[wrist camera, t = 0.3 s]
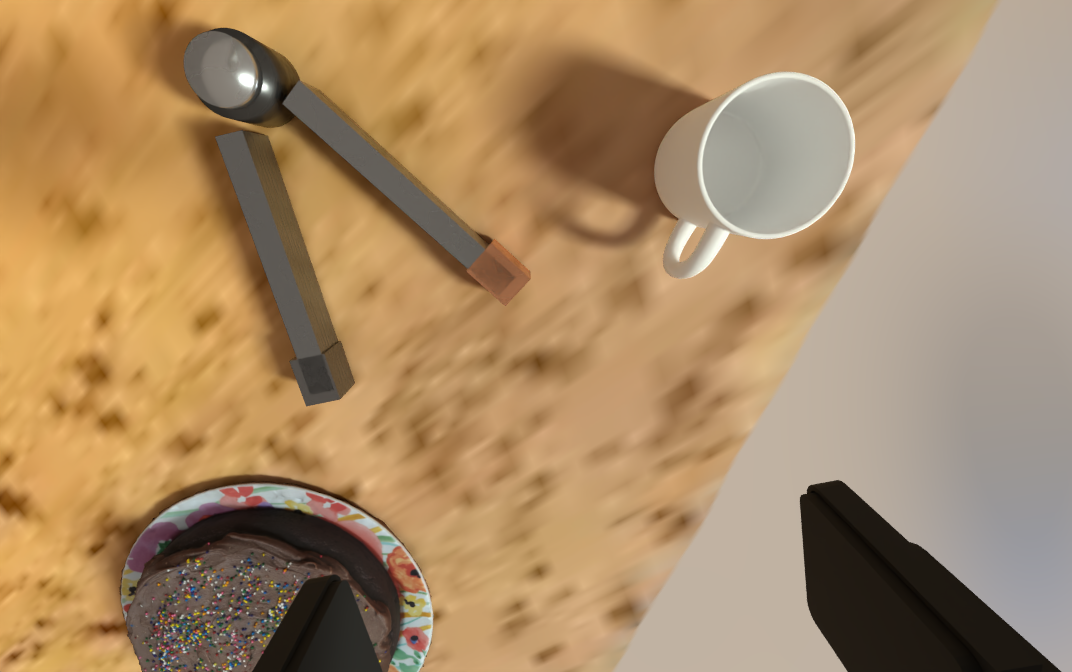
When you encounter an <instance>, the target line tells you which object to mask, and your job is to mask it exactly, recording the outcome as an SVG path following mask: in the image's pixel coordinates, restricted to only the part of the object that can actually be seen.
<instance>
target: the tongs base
mask: <svg viewBox="0 0 1072 672" xmlns="http://www.w3.org/2000/svg"><path fill="white" fill-rule="evenodd" d="M210 31H218V32H222V33H225V34H227V35H230V36H231V37H233V38H235V39H237V40H239V41H241V42H242V43H244V44H245V45H246V46H248V47H249V48H250V49H251V50H252V52H253V53H254V54H255V56H256V57H257V59H258V61H259V63H260V66H261V69H262V74H263V85H262V89H261V92H260V95H259V96H258V98H257V100H256V101H255V102H254V103H253V104H252V105H250V106H249V107H247V108H244V109H241V110H229V109H225V108H221V107H217V106H214V105H211V104H209V103H207V102H206V101H204V100H203V99H201V98H200V97H199V96H198V97H199V98H200V100H201V101H202V102H203V103H204V104H205V105H206V106H207V107H208V108H209V109H211V110H212V111H213V112H215V113H217V114H218V115H221V116H223V117H226V118H230V119H234V120H238V121H242V122H246V123H250V124H254V125H258V126H262V127H267V128H274V127H279V126H282V125H284V124H286V123H288V122H289V121H290V120H291V119H292V118H293V117H294V116H295V114H293V113H292V112H291V111H290V110H289V109H288V108H287V107H286V106H284V105H283V104H282V103H283V102H284V100H285V99H286V98H287V96H288V95H289V93H290V92H291V91H292V89H293V88H294V87H295V85H296V84H297V82H298V81H299V80H300V79H299V76H298V74H297V72H296V70H295V68H294V67H293V65H292V64H291V63H290V62H289V61H288V60H287V59H286V58H285V57H284V56H283V55H281V54H280V53H278V52H276V51H275V50H273V49H271V48H269V47H267V46H266V45H264V44H262V43H260V42H259V41H257V40H255V39H253V38H251V37H250V36H248V35H246V34H244V33H242V32H240V31H238V30H234V29H230V28H217V29H213V30H210ZM215 138H216V141H217V143H218V146H219V149H220V151H221V154H222V157H223V160H224V162H225V165H226V168H227V170H228V173H229V176H230V178H231V181H232V184H233V187H234V189H235V192H236V195H237V197H238V200H239V203H240V205H241V208H242V211H243V214H244V216H245V219H246V222H247V224H248V227H249V230H250V233H251V235H252V238H253V241H254V243H255V246H256V249H257V251H258V254H259V257H260V260H261V262H262V265H263V268H264V270H265V273H266V276H267V278H268V281H269V284H270V287H271V289H272V292H273V295H274V297H275V300H276V303H277V306H278V308H279V311H280V314H281V316H282V319H283V322H284V324H285V327H286V330H287V333H288V335H289V338H290V341H291V343H292V346H293V349H294V351H295V354H296V357H295V358H293V359H292V360H290V364H291V367H292V369H293V372H294V375H295V377H296V380H297V383H298V385H299V388H300V391H301V393H302V396H303V399H304V401H305V404H306V406H310V405H315V404H320V403H325V402H330V401H334V400H339V399H341V398H342V397H343V396H344V395H345V394H346V392H347V391H348V390H349V389H350V388H351V387H352V386H353V385H354V384H355V382H354V379H353V376H352V373H351V370H350V367H349V364H348V361H347V358H346V355H345V352H344V349H343V346H342V343H341V341H338V340H337V337H336V334H335V331H334V328H333V325H332V322H331V319H330V316H329V313H328V310H327V307H326V304H325V301H324V299H323V296H322V293H321V290H320V287H319V284H318V281H317V278H316V275H315V272H314V269H313V266H312V263H311V261H310V258H309V255H308V252H307V249H306V246H305V243H304V240H303V237H302V234H301V231H300V228H299V225H298V223H297V220H296V217H295V214H294V211H293V208H292V205H291V202H290V199H289V196H288V193H287V190H286V187H285V184H284V182H283V179H282V176H281V173H280V170H279V167H278V164H277V161H276V158H275V155H274V152H273V149H272V146H271V144H270V141H269V138H268V136H266V135H261V134H257V133H252V132H248V131H243V130H241V131H237V132H233V133H229V134H224V135H220V136H216V137H215Z"/></svg>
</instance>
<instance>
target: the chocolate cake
mask: <svg viewBox="0 0 1072 672" xmlns="http://www.w3.org/2000/svg"><path fill="white" fill-rule="evenodd" d="M333 574H336V575H338V576H339V577H340V578H341V580H346V581H348V583H349V585H350V587H351V590H352V592H353V595H354V597H355V600H356V603H357V605H358V608H359V611H360V613H361V616H362V618H363V621H364V624H365V626H366V629H367V632H368V634H369V637H370V639H371V642H372V645H373V647H374V650H375V653H376V655H377V658H378V661H379V663H380V666H381V668H382V671H383V672H419V670H420V668H421V667H424V660H425V657H426V656H427V652H428V649H429V647H430V645H431V640H432V630H433V617H434V616H433V609H432V603H431V595H430V591H429V588H428V585H427V583H426V580H425V579H424V577H423V575H422V572H421V569H420V567H419V565H418V564H417V563H416V561H415V560H414V559H413V558H412V556H411V554H410V552H409V551H408V550H407V549H406V547H405V546H404V544H403V543H402V542H401V541H400V540H399V539H398V538H397V537H396V536H395V535H394V534H393V532H392V531H391V530H390V529H389V528H388V527H387V525H386V524H385V523H384V522H383V521H381V520H380V519H377V518H374V517H372V516H370V515H369V514H367V513H366V512H364V511H363V510H362V509H360V508H356V507H353V506H352V505H350V504H349V503H348V502H347V501H341V500H338V499H336V498H333V497H331V496H330V495H329V494H322V493H318V492H316V491H313V490H311V489H309V488H306V487H300V486H298V485H290V484H286V483H283V484H276V483H272V482H254V481H253V482H249V483H237V484H234V485H229V486H223V487H219V488H214V489H206V490H205V491H204V492H198V493H196V494H195V495H194V496H191V497H189V498H184V499H182V500H180V501H178V502H177V503H175V504H173V505H171V506H170V507H168V508H166V509H164V510H162V511H161V512H160V513H159V516H158V517H156V518H153V520H152V522H151V523H150V524H149V525H148V526H147V528H146V529H145V530H144V531H143V532H142V533H141V534H140V535H139V537H138V539H137V541H136V542H135V543H134V545H133V547H132V549H131V551H130V554H129V556H128V558H127V560H126V563H125V567H124V568H123V570H122V578H121V586H120V595H121V604H122V607H123V615H124V619H125V621H126V626H127V627H128V629H127V630H128V635H127V636H128V637H129V639H130V640H131V643H132V644H133V648H134V650H135V654H136V656H137V658H138V660H139V664H140V666H141V670H142V672H252V671H253V669H254V667H255V666H256V664H257V662H258V661H259V659H260V657H261V655H262V654H263V652H264V650H265V649H266V647H267V645H268V643H269V642H270V640H271V638H272V637H273V635H274V633H275V631H276V630H277V628H278V626H279V625H280V623H281V621H282V620H283V618H284V616H285V614H286V613H287V611H288V609H289V608H290V606H291V604H292V602H293V601H294V599H295V597H296V596H297V594H298V592H299V590H300V589H301V587H302V585H303V584H304V583H305V581H306V580H308V579H311V578H317V577H322V576H328V575H333Z"/></svg>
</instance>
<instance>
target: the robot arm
mask: <svg viewBox="0 0 1072 672" xmlns="http://www.w3.org/2000/svg"><path fill="white" fill-rule="evenodd" d="M800 509H801V522H802V535H803V549H804V564H805V577H806V591H807V602H808V607H809V610H810V613H811V615H812V618H813V620H814V621H815V623H816V625H817V626H818V628H819V629H820V631H821V632H822V634H823V635H824V637H825V638H826V640H827V641H828V643H829V644H830V646H831V647H832V648H833V650H834V651H835V653H836V655H837V656H838V658H839V659H840V661H841V662H842V664H843V665H844V667H845V668H846V670H847V671H848V672H1061V671H1060V670H1059V669H1058V668H1057V667H1055V666H1054V665H1053V664H1052V663H1051V662H1050V661H1049V660H1048V659H1046V658H1045V657H1044V656H1043V655H1042V654H1041V653H1040V652H1039V651H1038V650H1037V649H1035V648H1034V647H1033V646H1032V645H1031V644H1030V643H1029V642H1028V641H1026V640H1025V639H1024V638H1023V637H1022V636H1021V635H1020V634H1018V632H1016V631H1015V630H1014V629H1013V628H1012V627H1011V626H1009V624H1007V623H1006V622H1005V621H1004V620H1003V619H1002V618H1001V617H999V616H998V615H997V614H996V613H995V612H994V611H993V610H992V609H991V608H990V607H988V606H987V605H986V604H985V603H984V602H983V601H982V600H981V599H979V598H978V597H977V596H976V595H975V594H974V593H973V592H972V591H971V590H969V589H968V588H967V587H966V586H965V585H964V584H963V583H962V582H960V581H959V580H958V579H957V578H956V577H955V576H954V575H953V574H952V573H950V572H949V571H948V570H947V569H946V568H945V567H944V566H942V565H941V564H940V563H939V562H938V561H937V560H936V559H935V558H934V557H932V556H931V555H930V554H929V553H928V552H927V551H926V550H924V549H923V548H922V547H920V546H919V545H917V544H914V543H911V542H908V541H907V540H906V539H905V538H904V537H903V536H902V535H901V534H899V532H898V531H896V530H895V529H894V528H893V527H892V526H891V525H890V524H889V523H888V522H886V521H885V520H884V519H883V518H882V517H881V516H880V515H879V514H878V513H877V512H876V511H874V510H873V509H872V508H871V507H870V506H869V505H868V504H867V503H865V501H863V500H862V499H861V498H860V497H859V496H858V495H857V494H856V493H855V492H854V491H853V490H851V489H850V488H849V487H848V486H847V485H846V484H845V483H843V482H842V481H839V480H836V481H830V482H825V483H820V484H815V485H810V486H809V487H808V489H807V494H803V495H801V497H800ZM252 672H383V671H382V668H381V666H380V663H379V661H378V658H377V655H376V653H375V650H374V647H373V645H372V642H371V639H370V637H369V634H368V632H367V629H366V626H365V624H364V621H363V618H362V616H361V613H360V611H359V608H358V605H357V603H356V600H355V597H354V595H353V592H352V590H351V587H350V585H349V583H348V581H346V580H341V578H340V577H339V576H338V575H336V574H333V575H328V576H322V577H317V578H311V579H308V580H306V581H305V583H304V584H303V585H302V587H301V589H300V590H299V592H298V594H297V596H296V597H295V599H294V601H293V602H292V604H291V606H290V608H289V609H288V611H287V613H286V614H285V616H284V618H283V620H282V621H281V623H280V625H279V626H278V628H277V630H276V631H275V633H274V635H273V637H272V638H271V640H270V642H269V643H268V645H267V647H266V649H265V650H264V652H263V654H262V655H261V657H260V659H259V661H258V662H257V664H256V666H255V667H254V669H253V671H252Z"/></svg>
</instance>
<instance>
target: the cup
mask: <svg viewBox="0 0 1072 672" xmlns="http://www.w3.org/2000/svg"><path fill="white" fill-rule="evenodd" d="M854 153H855V135H854V129H853V124H852V121H851V117H850V115H849V112H848V110H847V108H846V106H845V104H844V103H843V101H842V100H841V99H840V97H839V96H838V95H837V94H836V93H835V92H834V91H833V90H832V89H831V88H830V87H829V86H828V85H826V84H825V83H823V82H822V81H820V80H818V79H816V78H814V77H812V76H809V75H806V74H802V73H797V72H775V73H770V74H766V75H762V76H759V77H757V78H754V79H752V80H750V81H748V82H746V83H744V84H742V85H740V86H738V87H737V88H735V89H733V90H731V91H729V92H727V93H725V94H723V95H721V96H719V97H717V98H715V99H713V100H711V101H709V102H707V103H705V104H703V105H701V106H699V107H697V108H695V109H694V110H692V111H690V112H689V113H687V114H685V115H684V116H683V117H681V118H680V119H679V120H678V121H677V122H676V123H675V124H674V125H673V126H672V127H671V128H670V129H669V131H668V132H667V133H666V135H665V137H664V138H663V140H662V142H661V144H660V146H659V149H658V151H657V155H656V159H655V166H654V178H655V185H656V189H657V192H658V194H659V197H660V199H661V201H662V202H663V204H664V205H665V207H666V208H667V209H668V210H669V211H670V212H671V213H672V214H673V215H674V216H675V217H677V218H678V221H677V223H676V225H675V227H674V229H673V231H672V233H671V235H670V237H669V240H668V242H667V244H666V247H665V250H664V254H663V266H664V269H665V271H666V272H667V273H668V274H669V275H670V276H672V277H674V278H678V279H685V278H690V277H693V276H695V275H697V274H698V273H700V272H701V271H703V270H704V269H705V268H706V267H707V266H708V265H709V264H710V263H711V261H712V260H713V259H714V257H715V256H716V254H717V253H718V251H719V250H720V248H721V247H722V245H723V243H724V242H725V240H726V238H727V237H728V235H729V233H730V234H735V235H740V236H745V237H750V238H756V239H775V238H781V237H785V236H789V235H791V234H794V233H797V232H799V231H801V230H803V229H805V228H806V227H808V226H810V225H811V224H813V223H814V222H816V221H817V220H818V219H819V218H820V217H822V216H823V215H824V214H825V213H826V212H827V211H828V210H829V209H830V207H831V206H832V205H833V204H834V203H835V201H836V200H837V199H838V197H839V196H840V194H841V192H842V191H843V189H844V187H845V185H846V183H847V180H848V178H849V175H850V172H851V169H852V165H853V160H854ZM696 227H700V228H705V229H706V230H705V232H704V233H703V235H702V237H701V239H700V241H699V243H698V245H697V246H696V248H695V250H694V251H693V253H692V254H691V256H690V257H689V258H688V259H687V260H685V261H683V262H679V258H680V255H681V252H682V250H683V248H684V246H685V244H686V242H687V241H688V239H689V237H690V236H691V234H692V233H693V231H694V230H695V228H696Z"/></svg>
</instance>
